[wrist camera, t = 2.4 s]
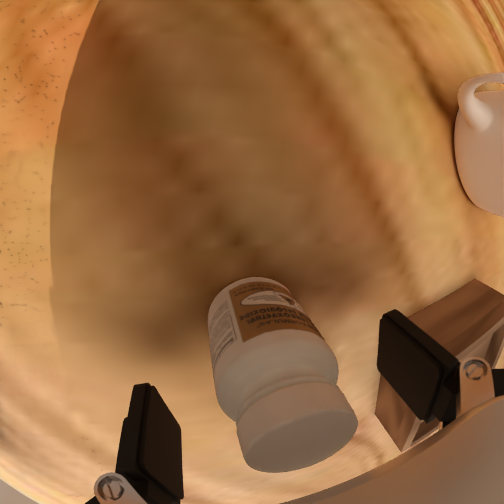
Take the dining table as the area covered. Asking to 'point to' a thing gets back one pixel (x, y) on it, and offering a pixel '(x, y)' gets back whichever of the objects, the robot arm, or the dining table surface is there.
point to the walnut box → (453, 340)
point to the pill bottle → (276, 377)
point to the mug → (481, 142)
